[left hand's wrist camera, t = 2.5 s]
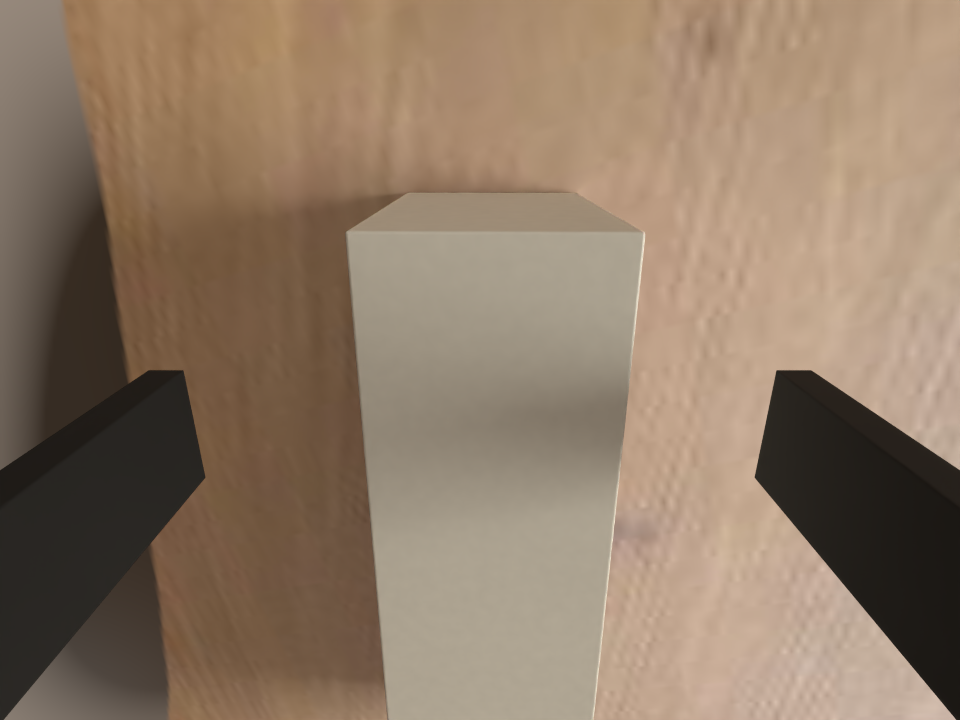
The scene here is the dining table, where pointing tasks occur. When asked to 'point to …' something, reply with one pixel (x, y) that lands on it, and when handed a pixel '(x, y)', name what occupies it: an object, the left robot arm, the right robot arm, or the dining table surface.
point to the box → (493, 443)
